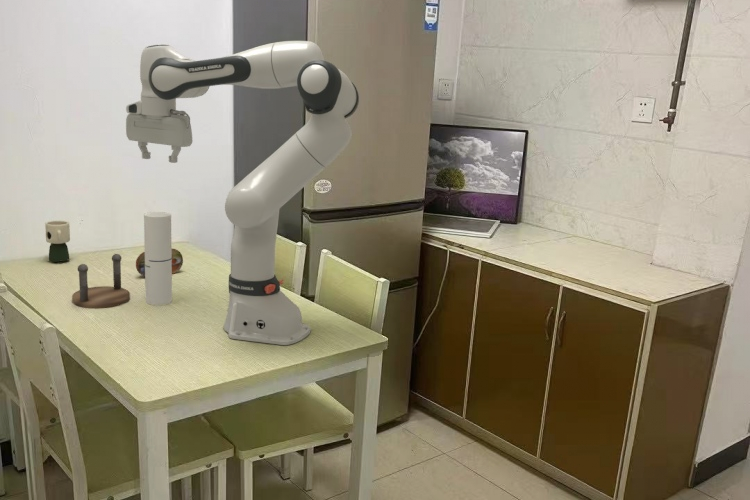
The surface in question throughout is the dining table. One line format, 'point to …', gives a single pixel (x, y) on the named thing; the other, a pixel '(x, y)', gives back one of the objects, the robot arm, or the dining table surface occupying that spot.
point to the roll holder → (101, 289)
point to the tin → (176, 262)
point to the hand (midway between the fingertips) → (159, 160)
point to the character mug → (58, 240)
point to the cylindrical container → (158, 258)
